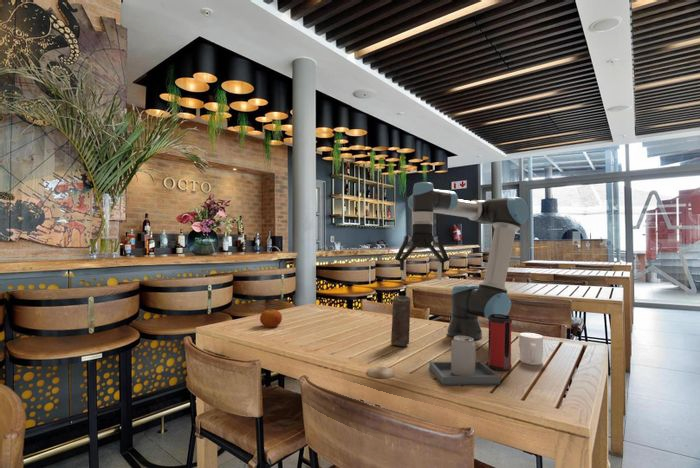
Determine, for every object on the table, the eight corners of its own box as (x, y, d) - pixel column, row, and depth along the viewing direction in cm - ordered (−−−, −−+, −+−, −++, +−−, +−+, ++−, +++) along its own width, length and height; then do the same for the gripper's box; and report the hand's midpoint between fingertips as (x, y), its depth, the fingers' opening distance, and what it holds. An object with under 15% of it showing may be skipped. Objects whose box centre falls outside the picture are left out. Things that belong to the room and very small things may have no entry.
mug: (517, 331, 145) (540, 333, 142) (517, 355, 144) (540, 358, 142) (521, 339, 133) (546, 341, 131) (521, 365, 133) (546, 368, 131)
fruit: (279, 329, 178) (279, 312, 178) (257, 329, 178) (257, 312, 179) (283, 324, 189) (283, 308, 189) (263, 323, 189) (263, 307, 189)
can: (476, 380, 117) (477, 341, 117) (451, 378, 118) (452, 339, 118) (473, 371, 124) (474, 335, 124) (450, 369, 126) (450, 333, 126)
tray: (480, 368, 129) (480, 361, 129) (500, 385, 115) (500, 376, 115) (429, 369, 128) (429, 361, 128) (442, 385, 114) (442, 377, 114)
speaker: (499, 372, 125) (499, 318, 125) (482, 365, 132) (483, 314, 133) (516, 370, 128) (517, 317, 129) (499, 362, 135) (499, 312, 136)
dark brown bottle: (411, 344, 157) (412, 296, 157) (406, 349, 150) (407, 299, 150) (394, 342, 160) (395, 295, 160) (388, 346, 153) (389, 297, 154)
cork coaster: (391, 368, 128) (391, 366, 128) (397, 378, 119) (397, 376, 119) (365, 368, 127) (365, 366, 127) (369, 378, 118) (369, 376, 118)
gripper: (451, 224, 148) (450, 278, 147) (388, 223, 146) (387, 278, 146) (458, 223, 140) (457, 280, 140) (391, 222, 138) (391, 280, 138)
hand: (421, 279), depth 143 cm, fingers open, 13 cm apart
